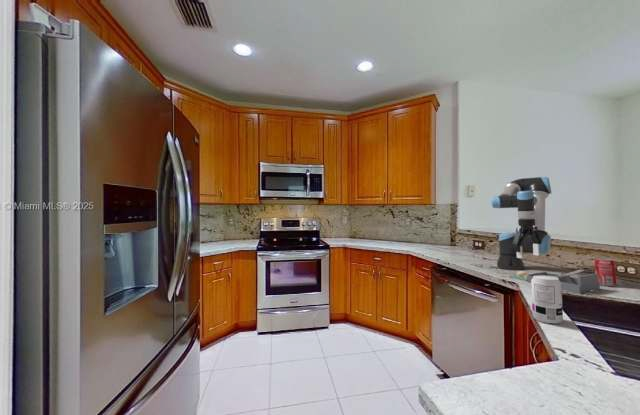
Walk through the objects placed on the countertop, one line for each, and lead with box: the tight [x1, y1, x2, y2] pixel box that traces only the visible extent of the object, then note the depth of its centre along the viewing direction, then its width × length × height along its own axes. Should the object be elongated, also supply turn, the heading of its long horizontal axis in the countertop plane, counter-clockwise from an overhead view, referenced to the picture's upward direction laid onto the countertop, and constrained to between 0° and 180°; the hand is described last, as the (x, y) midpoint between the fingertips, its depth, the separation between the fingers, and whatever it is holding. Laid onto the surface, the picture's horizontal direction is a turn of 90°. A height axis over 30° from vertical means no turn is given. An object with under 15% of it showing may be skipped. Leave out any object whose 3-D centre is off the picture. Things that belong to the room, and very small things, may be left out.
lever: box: [552, 268, 585, 279], centre depth 139 cm, size 18×13×2 cm
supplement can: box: [530, 275, 564, 324], centre depth 97 cm, size 8×8×15 cm
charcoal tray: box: [526, 271, 601, 294], centre depth 139 cm, size 23×15×8 cm, turn 20°
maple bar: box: [516, 270, 534, 278], centre depth 155 cm, size 8×4×2 cm, turn 20°
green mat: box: [508, 274, 527, 282], centre depth 156 cm, size 10×12×1 cm
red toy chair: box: [594, 257, 617, 288], centre depth 138 cm, size 7×7×13 cm
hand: (528, 256), depth 154 cm, fingers open, 13 cm apart
